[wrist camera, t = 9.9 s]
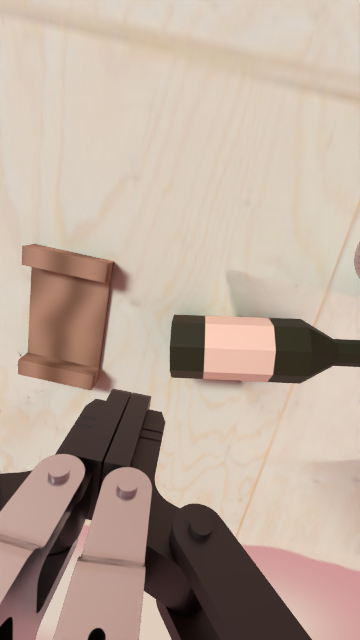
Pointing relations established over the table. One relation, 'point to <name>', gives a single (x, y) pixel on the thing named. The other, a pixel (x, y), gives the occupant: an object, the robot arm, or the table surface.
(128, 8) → the table surface
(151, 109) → the table surface
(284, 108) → the table surface
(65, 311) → the u rest
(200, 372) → the wine bottle
